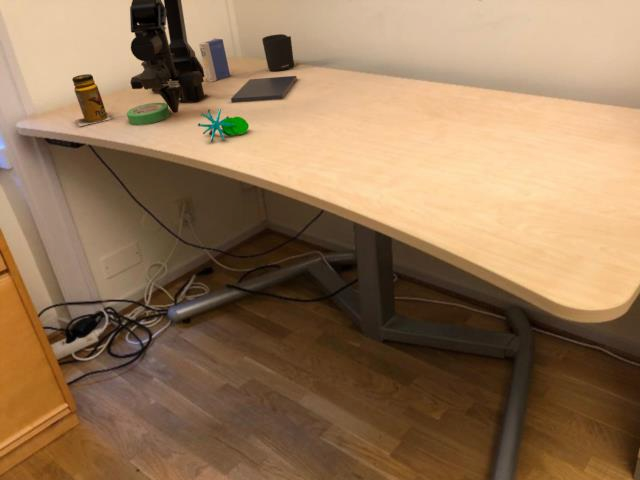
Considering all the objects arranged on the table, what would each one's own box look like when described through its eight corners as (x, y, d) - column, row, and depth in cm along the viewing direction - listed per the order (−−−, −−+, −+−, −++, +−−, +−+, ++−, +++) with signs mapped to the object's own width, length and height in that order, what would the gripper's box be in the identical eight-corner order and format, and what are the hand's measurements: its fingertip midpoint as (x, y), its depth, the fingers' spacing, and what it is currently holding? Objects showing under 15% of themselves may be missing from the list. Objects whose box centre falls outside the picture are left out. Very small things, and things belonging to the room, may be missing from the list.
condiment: (111, 119, 164) (97, 75, 158) (80, 126, 160) (64, 82, 154) (105, 114, 169) (91, 71, 163) (75, 121, 166) (59, 78, 159)
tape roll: (139, 127, 154) (135, 117, 153) (123, 120, 162) (119, 110, 160) (177, 116, 160) (174, 106, 159) (160, 109, 168) (157, 100, 166)
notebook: (297, 79, 182) (296, 75, 182) (282, 99, 165) (282, 94, 164) (250, 83, 184) (249, 79, 184) (231, 102, 167) (230, 98, 166)
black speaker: (264, 72, 195) (258, 41, 190) (272, 65, 203) (267, 35, 197) (291, 70, 193) (286, 39, 188) (298, 64, 201) (293, 33, 196)
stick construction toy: (202, 137, 135) (198, 105, 135) (195, 148, 141) (191, 117, 141) (252, 139, 140) (248, 108, 141) (243, 150, 146) (239, 120, 147)
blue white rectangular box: (225, 75, 197) (216, 37, 191) (230, 75, 196) (222, 38, 189) (206, 81, 192) (197, 42, 186) (211, 81, 191) (203, 43, 184)
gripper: (109, 61, 146) (128, 122, 154) (174, 58, 141) (191, 122, 149) (134, 51, 155) (151, 109, 163) (197, 48, 150) (211, 108, 158)
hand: (175, 112), depth 158 cm, fingers closed
